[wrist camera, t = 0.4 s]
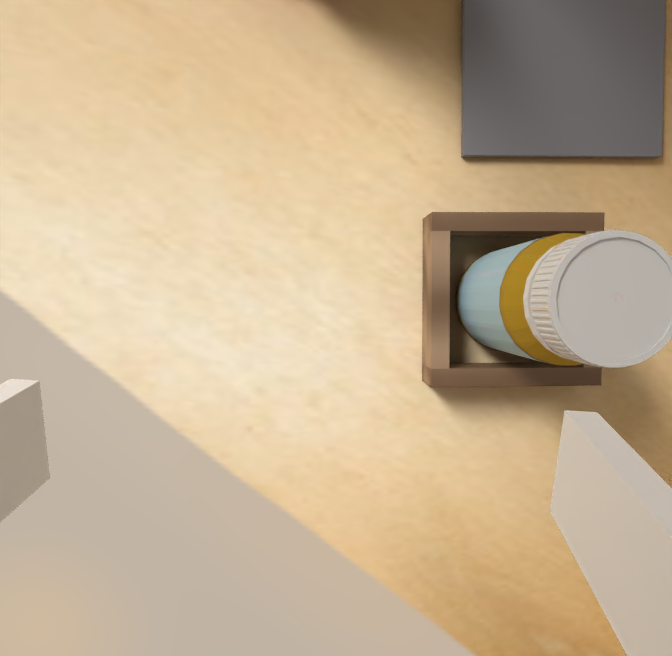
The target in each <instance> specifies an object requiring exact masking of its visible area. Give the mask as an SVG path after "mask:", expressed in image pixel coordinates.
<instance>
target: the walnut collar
mask: <svg viewBox="0 0 672 656" xmlns="http://www.w3.org/2000/svg"><path fill="white" fill-rule="evenodd" d="M601 231H604V213H557V212H432V213H430V214H429V215H428V216H426V217H425V218H424V219H423V330H422V381H424V382H425V383H426V384H428V385H429V386H431V387H480V386H579V385H601V367H597V366H592V365H588V364H584V363H583V364H580V365H574V366H572V365H553V364H548V363H449V346H450V236H550V235H554V234H561V233H580V234H585V235H588V234H592V233H596V232H601Z"/></svg>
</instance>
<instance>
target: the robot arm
mask: <svg viewBox="0 0 672 656" xmlns="http://www.w3.org/2000/svg"><path fill="white" fill-rule="evenodd" d="M49 478H50V474H49V465H48V456H47V447H46V437H45V428H44V419H43V410H42V400H41V391H40V382H39V381H36V380H17V379H10V380H8V381H6V382H4V383H2V384H0V522H1V521H2V520H3V519H5V518H6V517H7V516H8V515H9V514H10V513H11V512H12V511H13V510H14V509H16V508H17V507H18V506H19V505H20V504H21V503H22V502H23V501H25V500H26V499H27V498H28V497H29V496H30V495H31V494H32V493H34V492H35V491H36V490H37V489H38V488H39V487H40V486H41V485H42V484H44V483H45V482H46V481H47V480H48V479H49ZM550 513H551V515H552V516H553V518H554V520H555V522H556V524H557V526H558V528H559V530H560V531H561V533H562V535H563V537H564V539H565V541H566V543H567V545H568V546H569V548H570V550H571V552H572V554H573V556H574V558H575V560H576V561H577V563H578V565H579V567H580V569H581V571H582V573H583V575H584V576H585V578H586V580H587V582H588V584H589V586H590V588H591V589H592V591H593V593H594V595H595V597H596V599H597V601H598V603H599V604H600V606H601V608H602V610H603V612H604V614H605V616H606V618H607V619H608V621H609V623H610V625H611V627H612V629H613V631H614V633H615V634H616V636H617V638H618V640H619V642H620V644H621V646H622V648H623V649H624V651H625V653H626V655H627V656H672V488H671V487H670V486H669V485H668V484H667V483H666V482H665V481H664V480H663V479H662V478H661V477H660V476H659V475H658V474H657V473H656V472H655V471H654V470H653V469H652V468H651V467H650V466H649V465H648V464H647V463H646V462H645V461H644V460H643V459H642V458H641V457H640V456H639V454H638V453H637V452H636V451H635V450H634V449H633V448H632V447H631V446H630V445H629V444H628V443H627V442H626V441H625V440H624V439H623V438H622V437H621V436H620V435H619V434H618V433H617V432H616V431H615V430H614V429H613V428H612V427H611V426H610V425H609V424H608V423H607V422H606V421H605V420H604V419H603V418H602V417H601V416H600V415H599V414H598V413H597V412H586V411H568V410H565V411H564V417H563V424H562V431H561V438H560V445H559V452H558V458H557V465H556V472H555V479H554V486H553V492H552V499H551V506H550Z"/></svg>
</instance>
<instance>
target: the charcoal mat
mask: <svg viewBox="0 0 672 656" xmlns="http://www.w3.org/2000/svg"><path fill="white" fill-rule="evenodd" d="M665 12H666V0H462V142H461V157H505V158H659V157H661V156H662V135H663V94H664V53H665Z"/></svg>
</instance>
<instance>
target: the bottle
mask: <svg viewBox="0 0 672 656" xmlns="http://www.w3.org/2000/svg"><path fill="white" fill-rule="evenodd" d="M456 308H457V312H458V316H459V319H460V321H461V324H462V325H463V327H464V328H465V330H466V331H467V332H468V334H469V335H470V336H471V337H473V338H474V339H475V340H477V341H478V342H479V343H481V344H483V345H485V346H487V347H490V348H493V349H496V350H499V351H503V352H507V353H511V354H514V355H518V356H522V357H526V358H529V359H533V360H537V361H541V362H544V363H548V364H553V365H572V366H574V365H580V364H583V363H584V364H588V365H592V366H597V367H603V368H617V367H619V368H623V367H627V366H631V365H635V364H638V363H641V362H643V361H645V360H647V359H649V358H650V357H652V356H653V355H655V354H656V353H658V352H659V351H660V350H661V349H662V348H663V347H664V346H665V345H666V344H667V343H668V341H669V340H670V339H671V337H672V258H671V256H670V255H669V254H668V253H667V252H666V251H665V250H664V249H663V248H662V247H661V246H660V245H659V244H658V243H656V242H655V241H653V240H652V239H650V238H648V237H646V236H644V235H641V234H638V233H635V232H631V231H624V230H618V231H617V230H610V231H609V230H605V231H601V232H596V233H592V234H588V235H585V234H580V233H561V234H554V235H550V236H547V237H543V238H539V239H536V240H532V241H529V242H525V243H521V244H518V245H514V246H511V247H507V248H503V249H500V250H497V251H493V252H490V253H488V254H485V255H483V256H482V257H480V258H479V259H477V260H476V261H474V262H473V263H472V264H471V265H470V266H469V267H468V269H467V270H466V271H465V273H464V274H463V276H462V277H461V280H460V283H459V285H458V288H457V293H456Z"/></svg>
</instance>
